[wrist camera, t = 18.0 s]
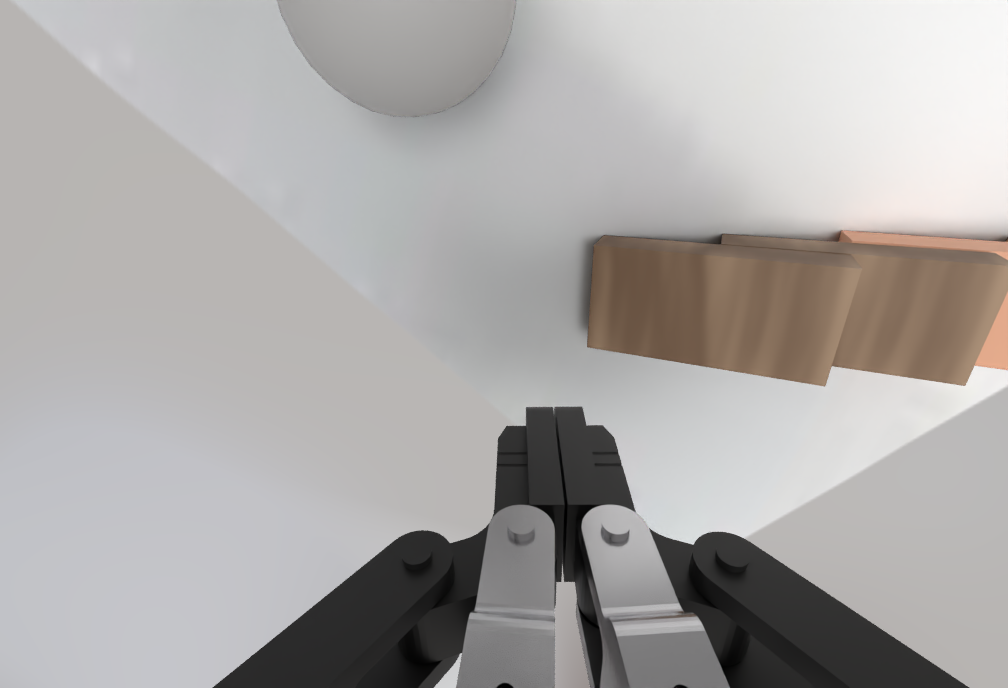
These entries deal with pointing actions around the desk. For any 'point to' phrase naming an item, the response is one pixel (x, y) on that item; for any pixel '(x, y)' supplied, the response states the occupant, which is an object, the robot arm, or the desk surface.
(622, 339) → the domino
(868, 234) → the domino
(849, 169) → the desk surface
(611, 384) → the desk surface
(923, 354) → the domino
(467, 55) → the lightbulb
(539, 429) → the robot arm
